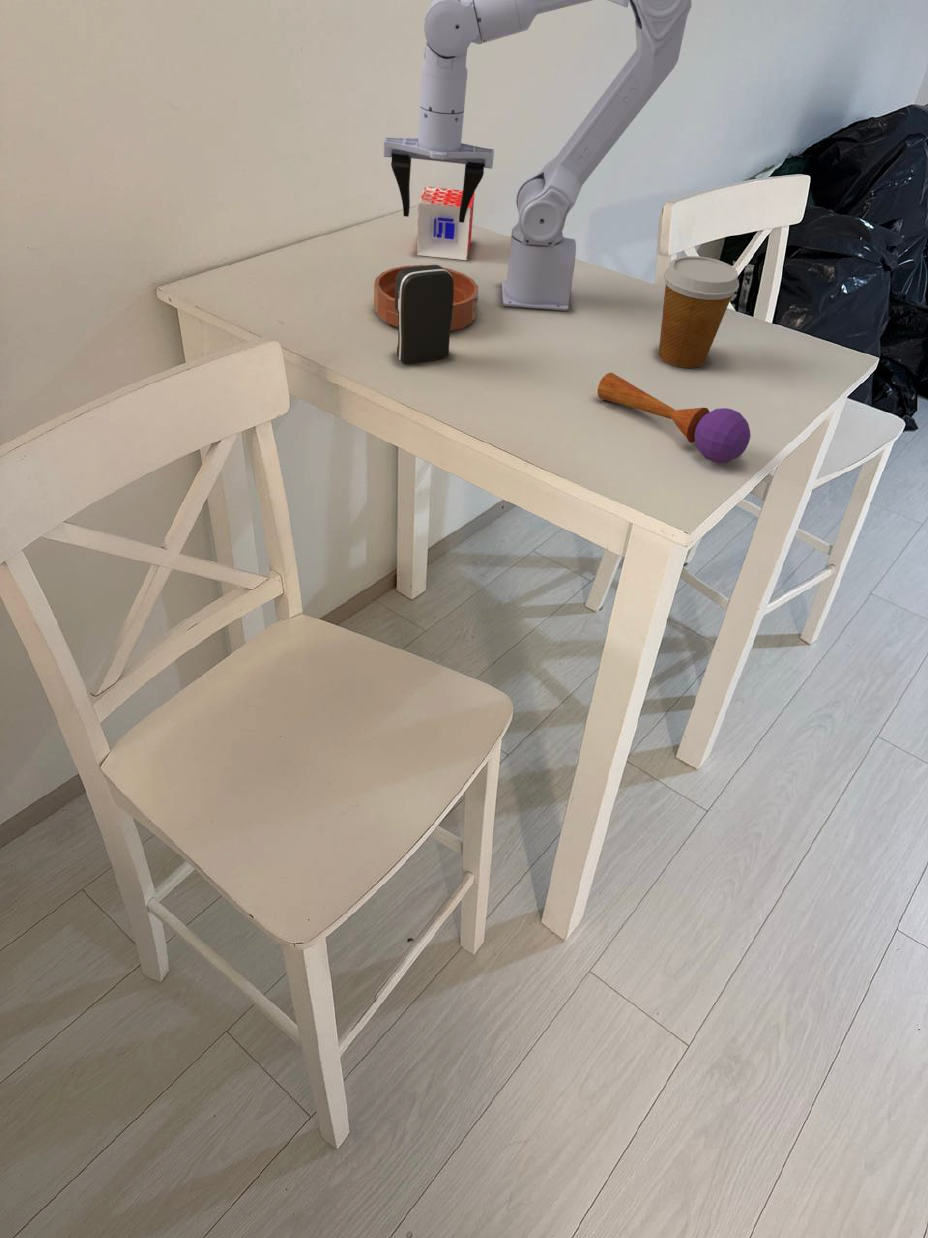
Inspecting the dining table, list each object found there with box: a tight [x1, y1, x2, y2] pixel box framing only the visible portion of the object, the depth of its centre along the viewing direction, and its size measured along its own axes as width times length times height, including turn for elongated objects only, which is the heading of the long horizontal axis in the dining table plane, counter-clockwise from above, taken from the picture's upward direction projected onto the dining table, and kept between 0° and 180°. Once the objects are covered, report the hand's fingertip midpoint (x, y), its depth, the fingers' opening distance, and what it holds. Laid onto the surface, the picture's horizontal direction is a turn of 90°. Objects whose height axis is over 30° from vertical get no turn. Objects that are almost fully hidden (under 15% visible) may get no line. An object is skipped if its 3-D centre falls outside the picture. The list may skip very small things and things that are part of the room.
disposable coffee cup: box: [658, 255, 740, 369], centre depth 118 cm, size 10×10×12 cm
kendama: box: [597, 372, 751, 463], centre depth 106 cm, size 6×6×20 cm
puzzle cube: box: [416, 186, 476, 261], centre depth 143 cm, size 8×8×8 cm
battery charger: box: [395, 264, 454, 364], centre depth 113 cm, size 7×4×11 cm, turn 115°
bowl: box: [373, 264, 479, 332], centre depth 126 cm, size 14×14×4 cm
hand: (434, 216), depth 126 cm, fingers open, 7 cm apart
